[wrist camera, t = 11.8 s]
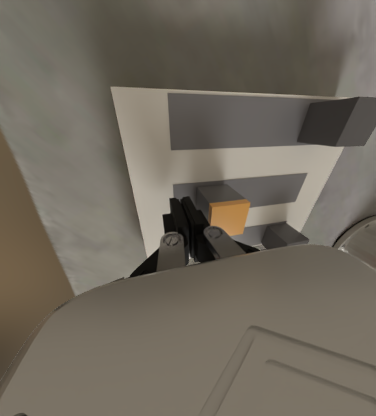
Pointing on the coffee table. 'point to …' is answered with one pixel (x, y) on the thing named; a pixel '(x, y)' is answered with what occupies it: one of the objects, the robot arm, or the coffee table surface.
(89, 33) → the coffee table surface
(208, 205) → the block
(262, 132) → the board
